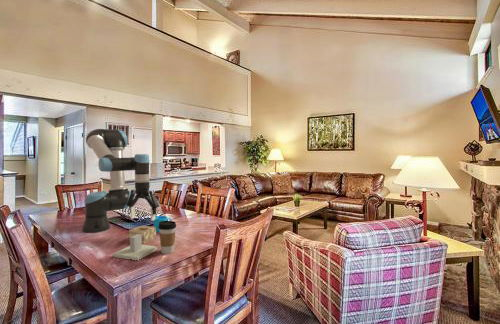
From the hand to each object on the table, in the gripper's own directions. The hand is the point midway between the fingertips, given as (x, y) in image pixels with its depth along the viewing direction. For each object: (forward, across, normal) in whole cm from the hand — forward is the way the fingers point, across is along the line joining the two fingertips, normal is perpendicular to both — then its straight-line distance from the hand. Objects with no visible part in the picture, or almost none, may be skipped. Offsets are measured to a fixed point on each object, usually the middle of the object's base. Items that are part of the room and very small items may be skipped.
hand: (142, 219), depth 145 cm
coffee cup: (+12, +23, -10) cm, 28 cm away
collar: (+12, 0, 0) cm, 12 cm away
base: (+12, +10, -17) cm, 23 cm away
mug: (+12, 0, +19) cm, 22 cm away
